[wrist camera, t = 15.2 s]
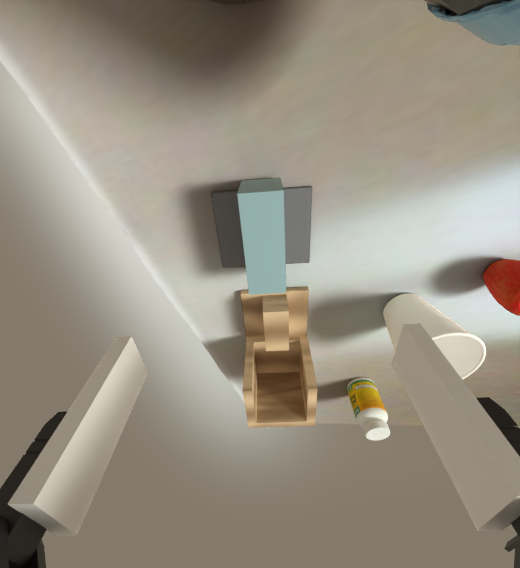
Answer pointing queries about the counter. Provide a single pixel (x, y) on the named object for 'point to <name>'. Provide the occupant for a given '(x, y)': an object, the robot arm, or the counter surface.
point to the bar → (263, 234)
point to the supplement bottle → (368, 408)
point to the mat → (294, 219)
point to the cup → (435, 332)
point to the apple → (504, 283)
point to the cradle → (278, 360)
